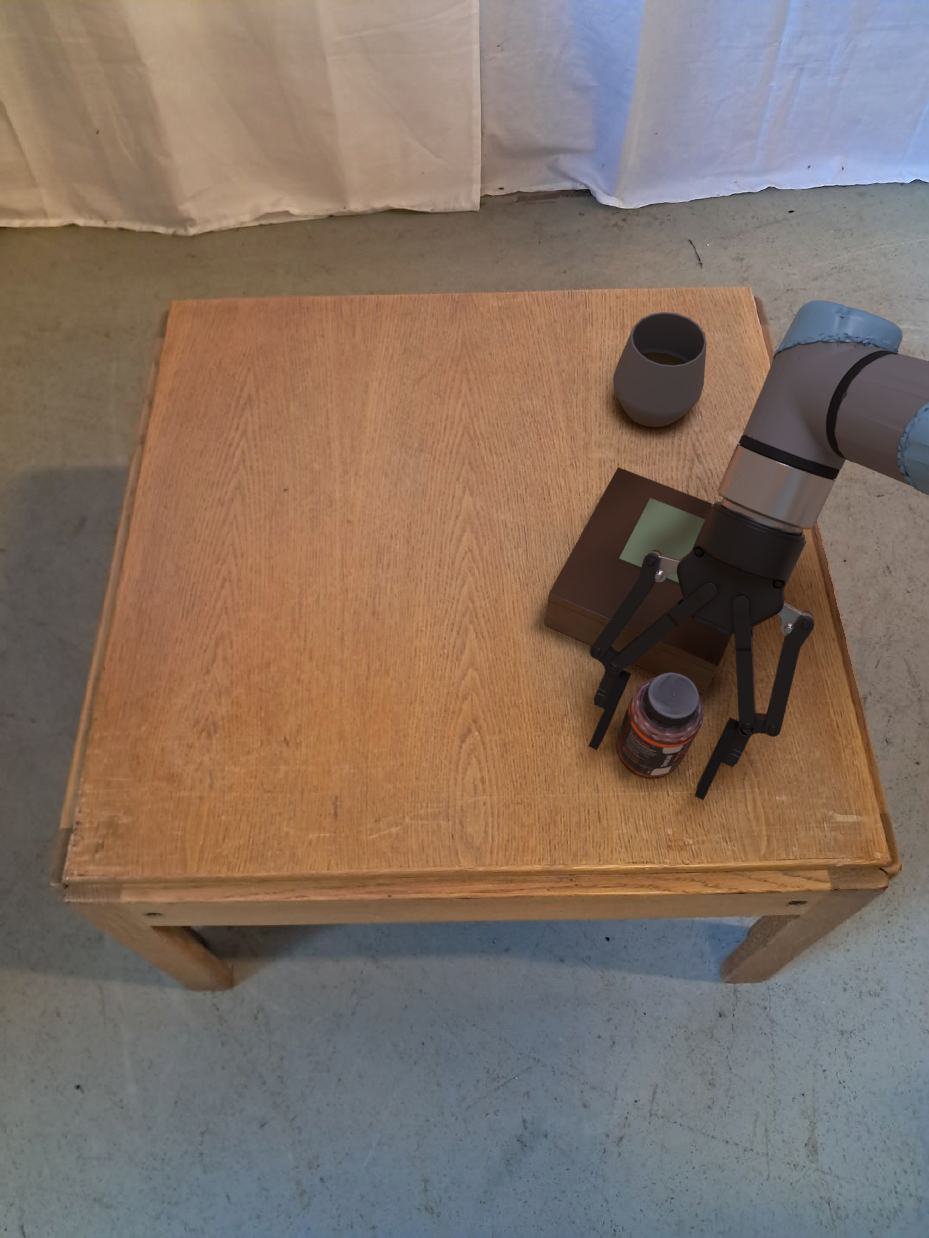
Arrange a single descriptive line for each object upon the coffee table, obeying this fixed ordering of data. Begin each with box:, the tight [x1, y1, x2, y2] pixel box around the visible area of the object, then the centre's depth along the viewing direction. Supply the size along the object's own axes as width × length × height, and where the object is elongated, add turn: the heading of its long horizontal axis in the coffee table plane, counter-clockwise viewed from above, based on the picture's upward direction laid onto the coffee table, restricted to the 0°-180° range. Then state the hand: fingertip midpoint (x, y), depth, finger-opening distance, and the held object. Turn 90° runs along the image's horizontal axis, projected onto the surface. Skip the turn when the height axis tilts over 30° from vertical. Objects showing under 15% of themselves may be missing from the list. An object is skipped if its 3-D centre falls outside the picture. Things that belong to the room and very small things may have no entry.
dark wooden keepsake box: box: [544, 466, 733, 695], centre depth 86 cm, size 16×16×6 cm
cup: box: [612, 311, 708, 428], centre depth 95 cm, size 10×9×10 cm
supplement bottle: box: [616, 673, 705, 778], centre depth 76 cm, size 6×6×11 cm
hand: (647, 766), depth 76 cm, fingers open, 9 cm apart
